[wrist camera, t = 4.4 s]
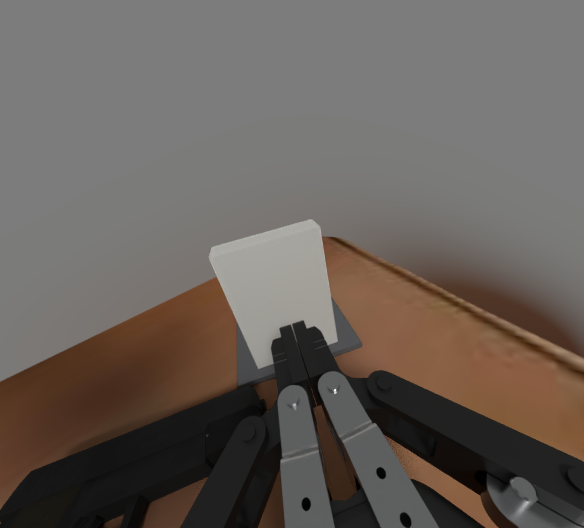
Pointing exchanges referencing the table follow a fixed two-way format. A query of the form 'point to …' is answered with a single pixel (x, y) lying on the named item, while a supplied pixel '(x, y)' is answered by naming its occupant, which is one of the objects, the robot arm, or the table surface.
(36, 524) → the handgun
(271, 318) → the tile
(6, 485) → the table surface
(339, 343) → the mat
